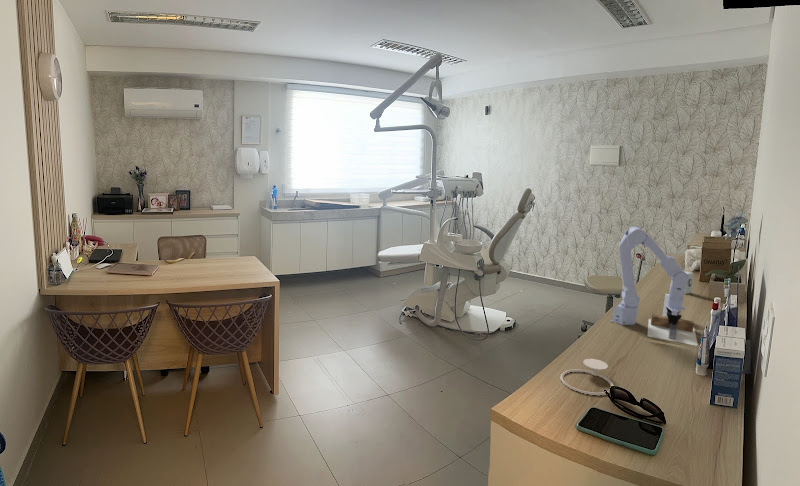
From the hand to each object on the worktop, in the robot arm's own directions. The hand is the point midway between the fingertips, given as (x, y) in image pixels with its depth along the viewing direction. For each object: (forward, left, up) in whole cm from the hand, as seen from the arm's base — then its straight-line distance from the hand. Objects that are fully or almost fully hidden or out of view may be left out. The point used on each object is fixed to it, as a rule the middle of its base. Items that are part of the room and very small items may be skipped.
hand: (671, 326), depth 208 cm
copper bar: (0, 0, -1) cm, 1 cm away
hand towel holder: (-68, -32, -2) cm, 75 cm away
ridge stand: (-4, -4, -2) cm, 6 cm away
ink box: (+54, +45, -2) cm, 71 cm away
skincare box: (+10, +10, -2) cm, 14 cm away
